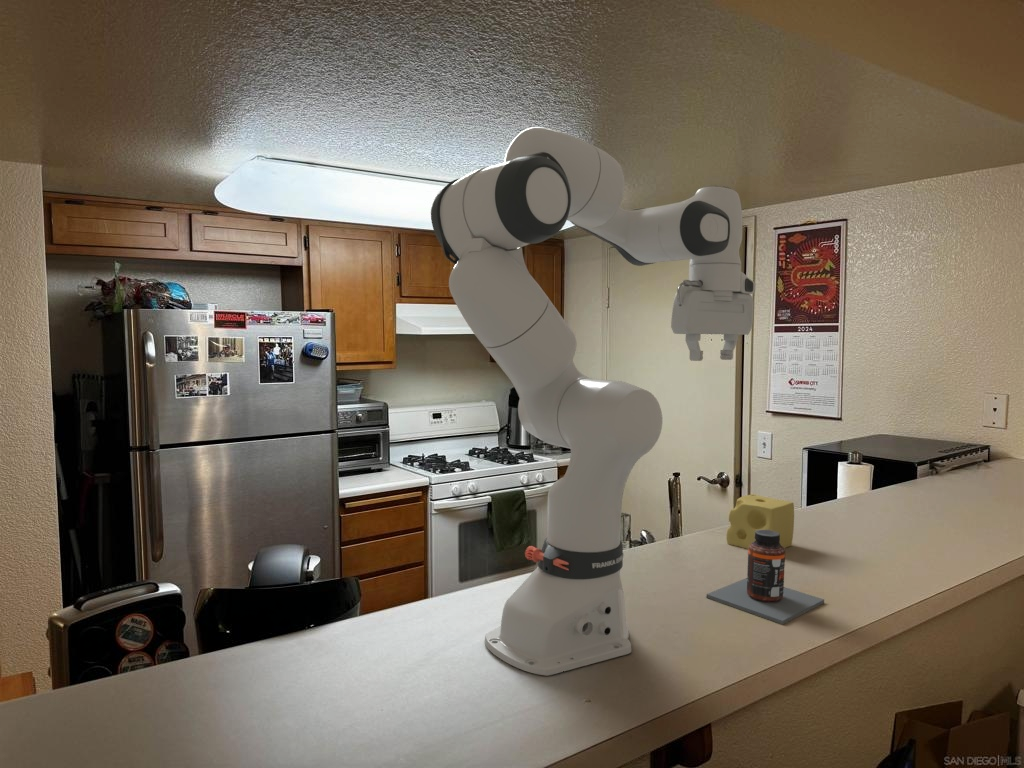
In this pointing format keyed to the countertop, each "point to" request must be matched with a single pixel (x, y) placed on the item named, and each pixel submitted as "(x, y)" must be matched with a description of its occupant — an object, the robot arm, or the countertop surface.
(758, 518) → the cheese
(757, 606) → the mat
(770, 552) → the supplement bottle
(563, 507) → the robot arm
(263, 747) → the countertop surface
